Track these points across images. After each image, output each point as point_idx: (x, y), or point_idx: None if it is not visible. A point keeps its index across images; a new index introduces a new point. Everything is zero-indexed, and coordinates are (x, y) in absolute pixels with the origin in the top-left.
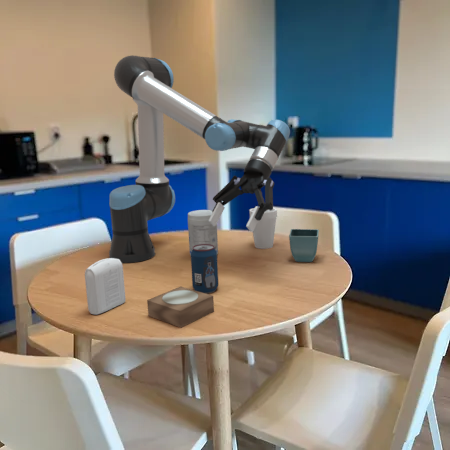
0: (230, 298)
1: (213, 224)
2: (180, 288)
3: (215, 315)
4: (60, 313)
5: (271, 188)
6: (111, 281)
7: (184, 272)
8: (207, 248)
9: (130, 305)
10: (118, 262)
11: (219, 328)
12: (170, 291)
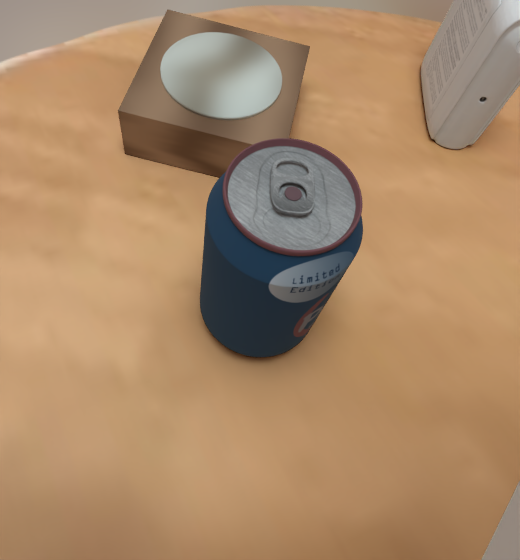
0: (112, 263)
1: (497, 533)
2: (273, 137)
3: (107, 133)
4: None
5: None
6: (463, 26)
7: (493, 486)
8: (268, 204)
9: (399, 130)
10: (510, 5)
11: (60, 72)
12: (288, 108)
